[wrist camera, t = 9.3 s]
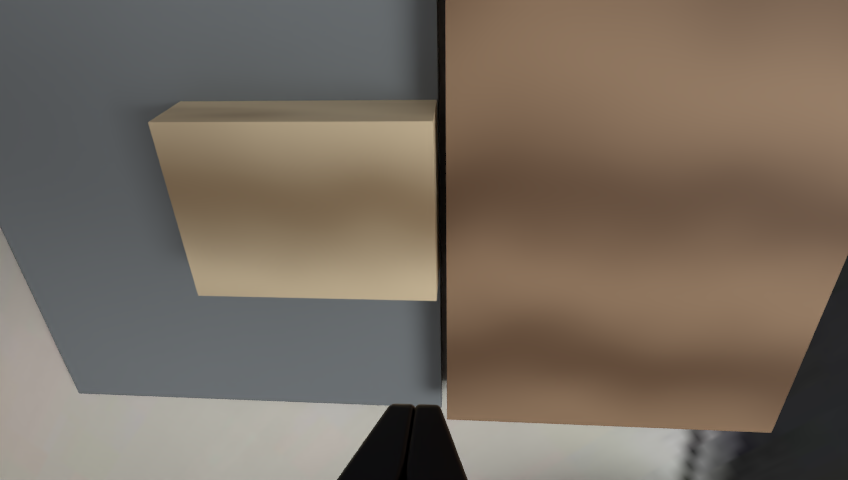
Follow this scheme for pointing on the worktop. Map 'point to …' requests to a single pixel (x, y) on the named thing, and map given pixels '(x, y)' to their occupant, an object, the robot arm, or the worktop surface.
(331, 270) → the birch tile
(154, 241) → the slate mat
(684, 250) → the walnut board
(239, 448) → the worktop surface
